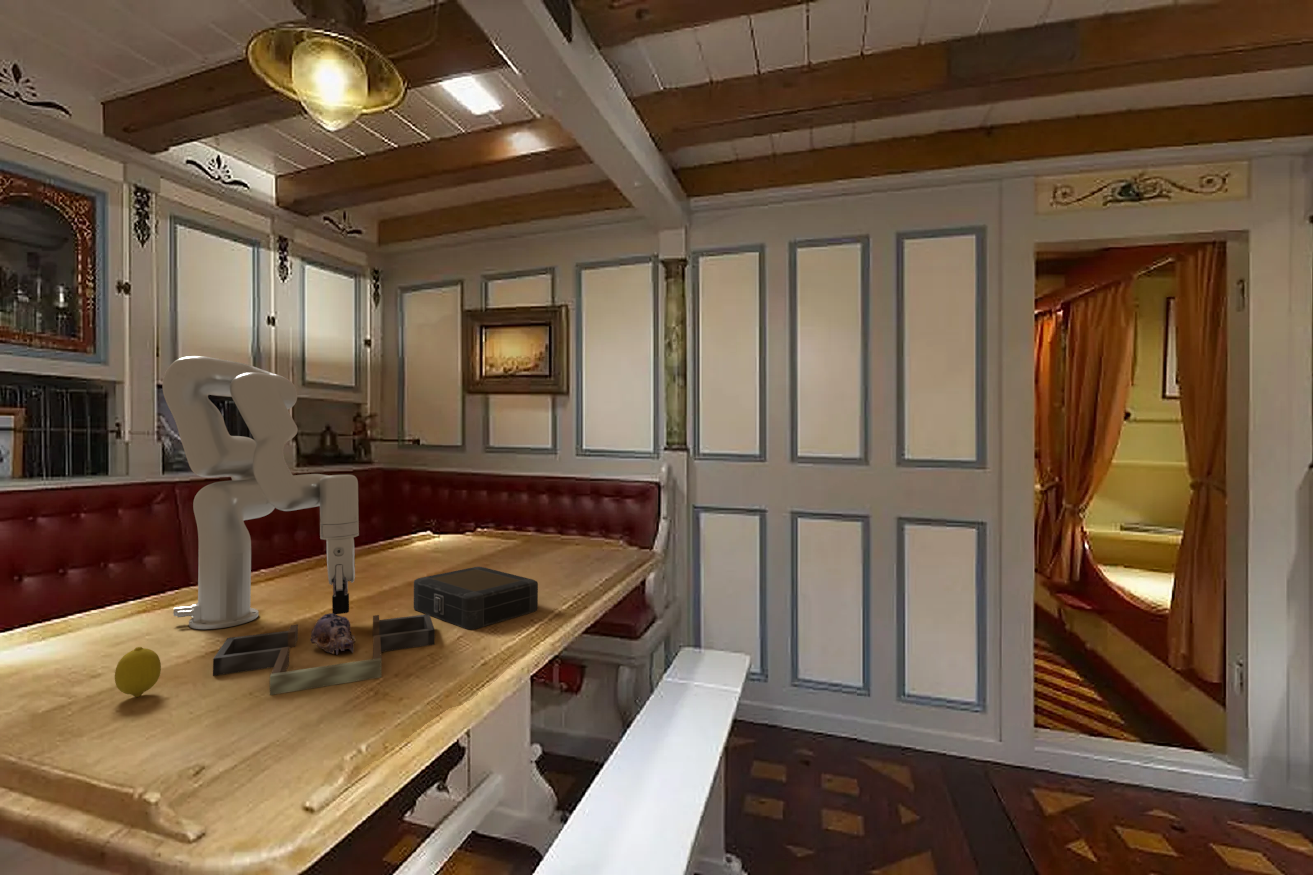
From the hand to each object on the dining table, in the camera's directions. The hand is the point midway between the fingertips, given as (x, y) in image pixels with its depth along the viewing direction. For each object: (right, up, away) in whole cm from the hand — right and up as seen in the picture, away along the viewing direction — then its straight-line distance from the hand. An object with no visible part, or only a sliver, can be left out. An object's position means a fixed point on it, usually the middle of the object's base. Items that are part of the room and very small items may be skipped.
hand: (340, 612), depth 128 cm
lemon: (-13, -3, -35) cm, 38 cm away
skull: (+6, -3, -13) cm, 15 cm away
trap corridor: (+8, -3, -17) cm, 19 cm away
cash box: (+26, -4, +13) cm, 29 cm away
